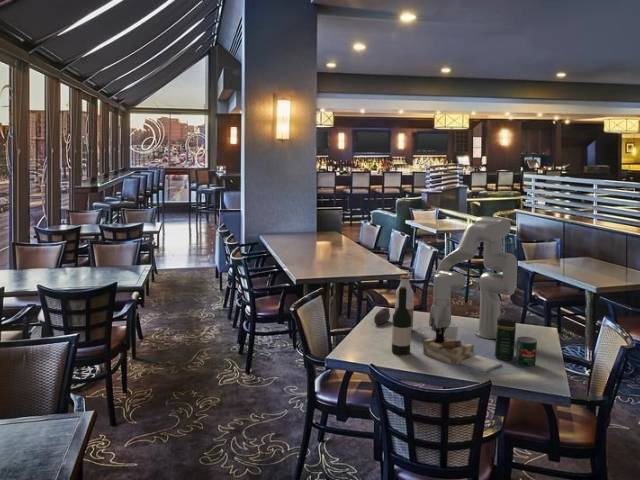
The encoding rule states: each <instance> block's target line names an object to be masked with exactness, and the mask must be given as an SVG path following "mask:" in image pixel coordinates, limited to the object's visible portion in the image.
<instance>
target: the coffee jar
mask: <svg viewBox="0 0 640 480" xmlns="http://www.w3.org/2000/svg"><path fill="white" fill-rule="evenodd" d="M516 327H517V320H516V317H515V316H513V315H511V314H500V316H499V317H498V319H497V331H496V339H495V347H494V356H495V358H496V359H500V360H501V361H502V360H504V361H507V360H508V361H511V360H513V359H514V355H515V342H516V333H517V332H516V329H517V328H516Z"/></svg>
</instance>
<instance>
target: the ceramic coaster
mask: <svg viewBox="0 0 640 480" xmlns="http://www.w3.org/2000/svg"><path fill="white" fill-rule="evenodd" d="M460 364H462V365H464V366H466V367H467V366H468V367H470V368H473V369H475V370H479V371H482V372H485V373H486V372H488V371H491V370H493V369H496V368H498V367H502V365H503V363H502V362H501V361H500V362H499V361H497V360H494V359H491V358H488V357H484V356H482V355H479V354H477V355H473V357H471V358H468V359H465V360H463V361H461V363H460Z"/></svg>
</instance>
